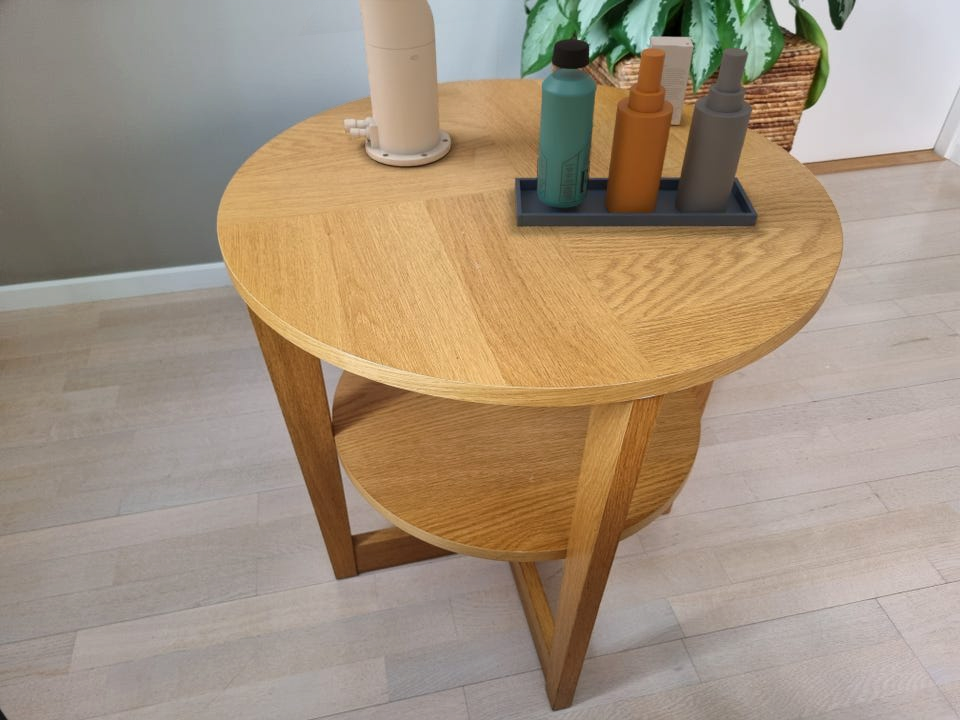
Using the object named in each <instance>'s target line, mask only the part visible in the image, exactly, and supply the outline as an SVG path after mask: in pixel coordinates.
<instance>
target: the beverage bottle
mask: <svg viewBox="0 0 960 720" xmlns="http://www.w3.org/2000/svg"><path fill="white" fill-rule="evenodd" d="M552 51H553V52H552V56H551V64H552V65H553V66H555V67H557V68H560V69H556V70H554V71H552V72H551V73H550V74H549V75H547V76H546V77H545V79H543V81H542V83H541V103H540V121H539V122H540V124H539V134H538V136H539V138H538V141H537V143H538V144H537V145H538V148H537V149H538V151H537V154H538V157H537V161H536V163H537V166H536V178H537V179H538V185H537V184H536V185H537V187H536V188H537V191H536V192H537V194H538V197H539V199H540V200H541V201H542V202H543V203H545V204H547V205H550V206H553V207H561V208H566V207H573V206H576V205H579V204H581V203H582V202H583V201H584V199H585V197H586V196H587V195H586V193H587V191H588V190H587V188H588V186H589V185H588V184H589V178H590V174H589V173H590V172H591V171H590V170H591V164H590V163H591V162H592V154H593V153H592V149H593V143H592V142H593V141H592V139H593V136H594V134H593V131H594V119H595V118H594V115H595V105H596V94H597V93H596V91H597V87H598V86H597V82H596V81H595V80H594V78H593V77H592V76H591V75H590V74H588V73H587V72H586V71H584V70H582V69H584V68H587V67H588V66H589V65H590V44H589V43H588V42H587V41H584V40H581V39H574V38H566V39H561V40H558V41H556V42H555V43H554V45H553V50H552ZM537 154H536V155H537ZM536 182H537V181H536ZM587 183H588V184H587ZM587 185H588V186H587ZM587 194H588V193H587Z"/></svg>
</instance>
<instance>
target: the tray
mask: <svg viewBox="0 0 960 720" xmlns="http://www.w3.org/2000/svg"><path fill="white" fill-rule="evenodd" d="M679 180H680V176H679V177H676V176H675V177H672V176H671V177H662V176H661V181H660V186H659V192H658V197H657V203H656V208H655V211H654V213H610V212H609V211H608V210H607V209H606V207H605V198H606V190H607V182H608V177H589V184H588V183H587V184H588V185H589V186H588V185H587V186H588V188H587V190H588V191H587V193H588V194H587V193H586V195H587V196H586V197H585V199H584V201H583V202H582V203H581V204H579V205H576V206H573V207H566V208H561V207H553V206H550V205H547V204H545V203H543V202H542V201H541V200H540V199H539V197H538V194H537V192H536V191H537V188H536V187H537V185H538V179H537V177H515V178H514V197H515V198H514V199H515V215H516V216H515V217H516V227H756V224H757V220H758V218H759V214H758V213H757V210H756V209H755V207H754V205H753V204H752V201H751V200H750V198H749V196H748V194H747V193H746V191H745V189H744V186H743V185H742V184H741V182H740V180H739V178H738V177H737V176H735V178H734V182H733V186H732V190H731V194H730V198H729V201H728V205H727V209H726V212H725V213H682V212H680V211H679V210H678V209H677V208H676V206H675V200H676V195H677V190H678V185H679ZM536 181H537V182H536ZM536 184H537V185H536Z"/></svg>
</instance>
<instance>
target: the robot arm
mask: <svg viewBox="0 0 960 720" xmlns="http://www.w3.org/2000/svg"><path fill="white" fill-rule="evenodd" d="M358 6H359V10H360V17H361V25H362V34H363V41H364V50H365V58H366V67H367V68H366V69H367V76H368V77H367V78H368V86H369V95H370V103H371V112H372V114H371V116H366V117H365V119H357V118H344V120H343V128H344V132H345V133H346V134H349V136H350V139H360V138H361V139H365V142H364V143H365V146H364V147H365V151H366V154H367V155H368V156H369V157H370V158H371V159H372V160H374V161H375V162H378V163H381V164H384V165H388V166H394V167H414V166H422V165H426V164H427V165H428V164H430V163H434V162H436V161H438V160H440V159H442V158H443V157H445V156H446V155H447V154H448V153H449V151H450V150H451V147H452V141H451V140H452V139H451V136H450V135H449V133H448V132H447V131H445V130H444V129H442V128H441V127H440V107H439V106H440V105H439V88H438V87H439V86H438V66H437V65H438V64H437V45H436V44H437V43H436V25H435V19H434V15H433V11H432V8H431V6H430V3H429V1H428V0H358Z"/></svg>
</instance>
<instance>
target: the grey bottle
mask: <svg viewBox="0 0 960 720" xmlns="http://www.w3.org/2000/svg"><path fill="white" fill-rule="evenodd" d="M748 56H749V52H748V51H747V50H745V49H742V48H737V47H727V48H725V49H724V50H723V52H722V56H721V62H720V66H719V71H718V75H717V80H716V82H713V83H711V84H710V85H709V87H708V92H707V95H705V96H702V97H699V98H698V99H696V101H695V102H694V107H693V110H692V116H691V121H690V126H689V131H688V136H687V141H686V147H685V152H684V155H683V161H682V166H681V171H680V175H679V177H680V180H679V185H678V190H677V195H676V200H675V206H676V208H677V209H678V210H679V211H680V212H682V213H725V212H726V209H727V205H728V201H729V198H730V194H731V190H732V186H733V182H734V178H735V177H736V174H737V170H738V166H739V163H740V159H741V154H742V151H743V147H744V144H745V140H746V136H747V132H748V128H749V124H750V120H751V116H752V113H753V106H752V105H751V104H750V103H749V102H747V101H745V100H744V99H745V95H746V92H747V89H746V87H744V86H743V85H742V81H743V77H744V72H745V68H746V64H747V60H748Z"/></svg>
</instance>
